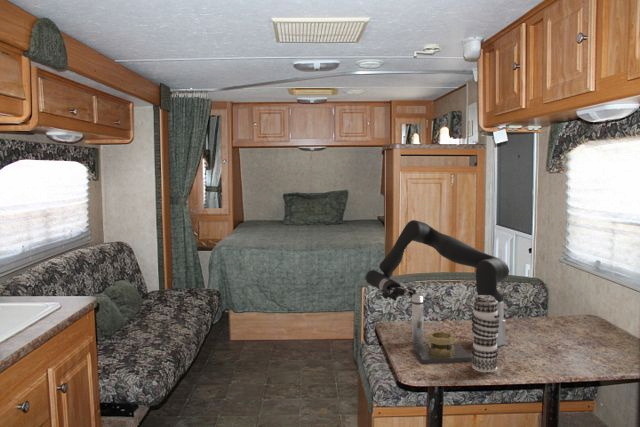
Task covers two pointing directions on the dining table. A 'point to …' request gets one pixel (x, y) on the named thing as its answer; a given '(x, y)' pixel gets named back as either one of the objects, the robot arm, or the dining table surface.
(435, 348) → the collar stand
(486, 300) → the decorative candle
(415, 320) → the metal thermos flask
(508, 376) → the dining table surface
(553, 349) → the dining table surface
